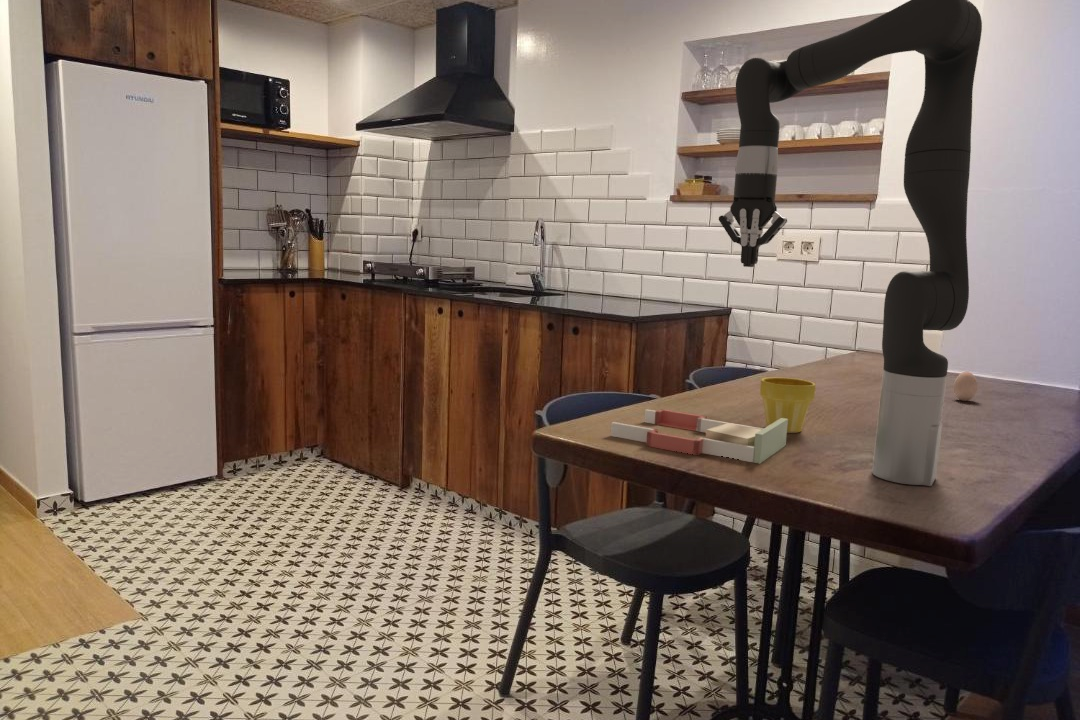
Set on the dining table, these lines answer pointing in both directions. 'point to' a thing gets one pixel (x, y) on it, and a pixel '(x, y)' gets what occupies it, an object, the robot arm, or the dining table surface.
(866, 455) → the dining table surface
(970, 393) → the egg
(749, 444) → the birch block
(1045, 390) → the dining table surface
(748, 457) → the trap lane
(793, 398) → the plant pot
